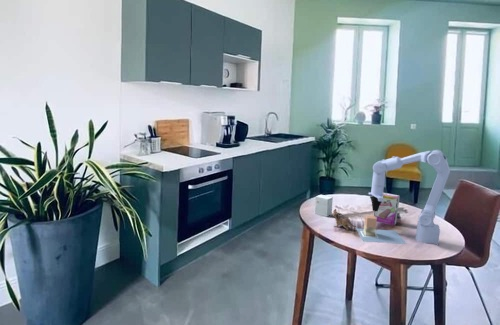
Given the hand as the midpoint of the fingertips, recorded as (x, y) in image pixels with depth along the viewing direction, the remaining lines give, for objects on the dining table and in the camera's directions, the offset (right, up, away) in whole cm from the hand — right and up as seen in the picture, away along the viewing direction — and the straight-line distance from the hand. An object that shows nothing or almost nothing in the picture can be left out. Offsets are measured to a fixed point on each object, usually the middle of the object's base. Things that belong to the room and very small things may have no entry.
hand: (375, 210), depth 183 cm
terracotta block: (-5, -6, -7) cm, 10 cm away
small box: (-22, -5, +23) cm, 32 cm away
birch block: (-5, -11, -6) cm, 13 cm away
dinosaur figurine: (-16, -10, +2) cm, 19 cm away
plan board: (0, -12, -7) cm, 14 cm away
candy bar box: (+9, -9, +12) cm, 18 cm away
